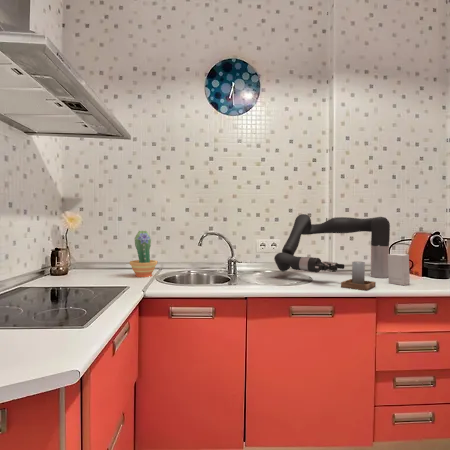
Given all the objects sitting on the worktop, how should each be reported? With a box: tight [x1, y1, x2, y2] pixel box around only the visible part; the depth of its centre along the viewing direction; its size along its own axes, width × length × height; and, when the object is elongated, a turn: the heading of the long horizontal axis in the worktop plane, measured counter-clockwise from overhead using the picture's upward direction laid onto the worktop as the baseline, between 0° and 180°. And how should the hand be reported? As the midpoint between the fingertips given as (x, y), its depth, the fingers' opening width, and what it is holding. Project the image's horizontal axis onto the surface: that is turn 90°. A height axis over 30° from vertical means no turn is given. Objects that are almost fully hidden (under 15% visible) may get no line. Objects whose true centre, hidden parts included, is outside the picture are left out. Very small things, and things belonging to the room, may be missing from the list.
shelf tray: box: [340, 278, 377, 292], centre depth 176 cm, size 12×12×2 cm
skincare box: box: [387, 253, 411, 286], centre depth 185 cm, size 8×6×15 cm
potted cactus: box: [128, 230, 158, 278], centre depth 205 cm, size 15×15×25 cm
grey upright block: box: [351, 260, 366, 285], centre depth 176 cm, size 6×6×11 cm
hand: (340, 267), depth 181 cm, fingers open, 8 cm apart
